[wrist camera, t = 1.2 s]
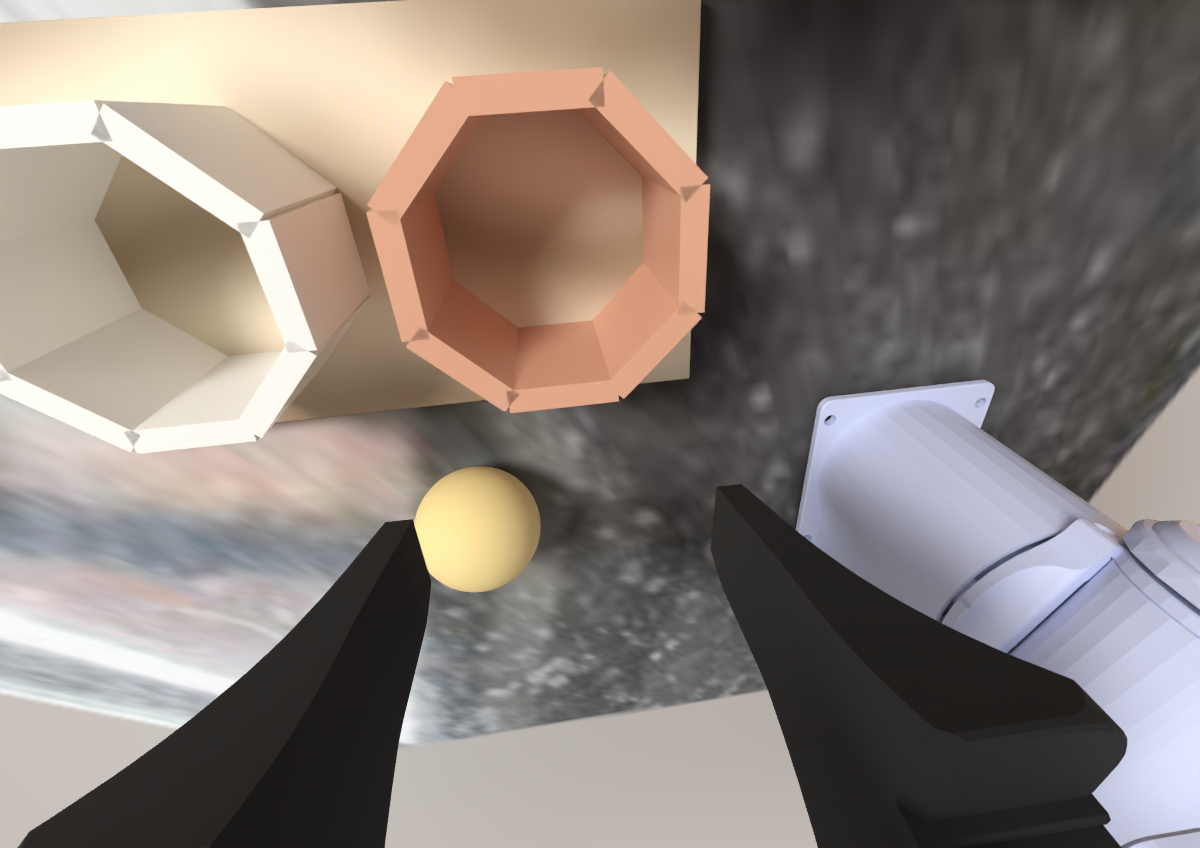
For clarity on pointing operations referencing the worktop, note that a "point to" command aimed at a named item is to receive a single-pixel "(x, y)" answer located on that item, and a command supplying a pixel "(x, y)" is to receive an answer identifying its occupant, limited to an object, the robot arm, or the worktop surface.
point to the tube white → (105, 299)
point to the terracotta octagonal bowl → (557, 351)
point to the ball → (477, 528)
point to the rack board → (381, 159)
